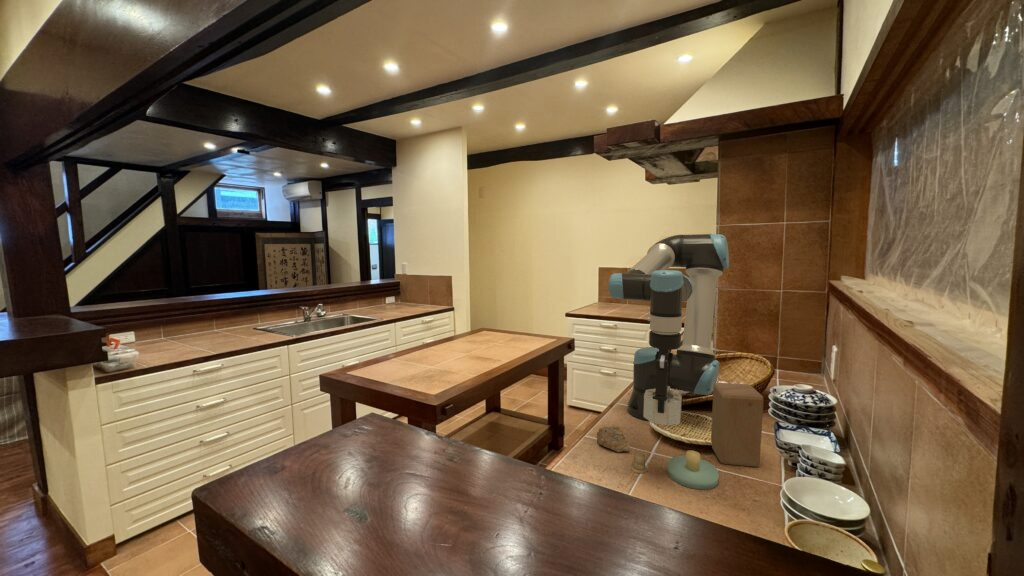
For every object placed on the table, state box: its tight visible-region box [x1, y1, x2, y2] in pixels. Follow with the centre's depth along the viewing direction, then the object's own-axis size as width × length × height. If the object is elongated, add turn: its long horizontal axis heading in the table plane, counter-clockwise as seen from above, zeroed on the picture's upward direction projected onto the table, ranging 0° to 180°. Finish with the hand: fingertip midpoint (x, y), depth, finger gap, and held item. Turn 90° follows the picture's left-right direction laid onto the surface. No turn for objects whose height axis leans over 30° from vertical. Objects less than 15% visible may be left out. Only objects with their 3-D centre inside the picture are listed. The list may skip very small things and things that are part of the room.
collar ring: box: [643, 388, 683, 426], centre depth 103 cm, size 9×9×6 cm
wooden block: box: [710, 382, 764, 468], centre depth 110 cm, size 10×10×20 cm
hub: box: [667, 450, 720, 491], centre depth 102 cm, size 12×12×6 cm
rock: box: [596, 426, 630, 453], centre depth 118 cm, size 9×6×10 cm
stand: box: [630, 451, 649, 475], centre depth 106 cm, size 4×4×4 cm
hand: (662, 416), depth 103 cm, fingers closed on collar ring, 9 cm apart
